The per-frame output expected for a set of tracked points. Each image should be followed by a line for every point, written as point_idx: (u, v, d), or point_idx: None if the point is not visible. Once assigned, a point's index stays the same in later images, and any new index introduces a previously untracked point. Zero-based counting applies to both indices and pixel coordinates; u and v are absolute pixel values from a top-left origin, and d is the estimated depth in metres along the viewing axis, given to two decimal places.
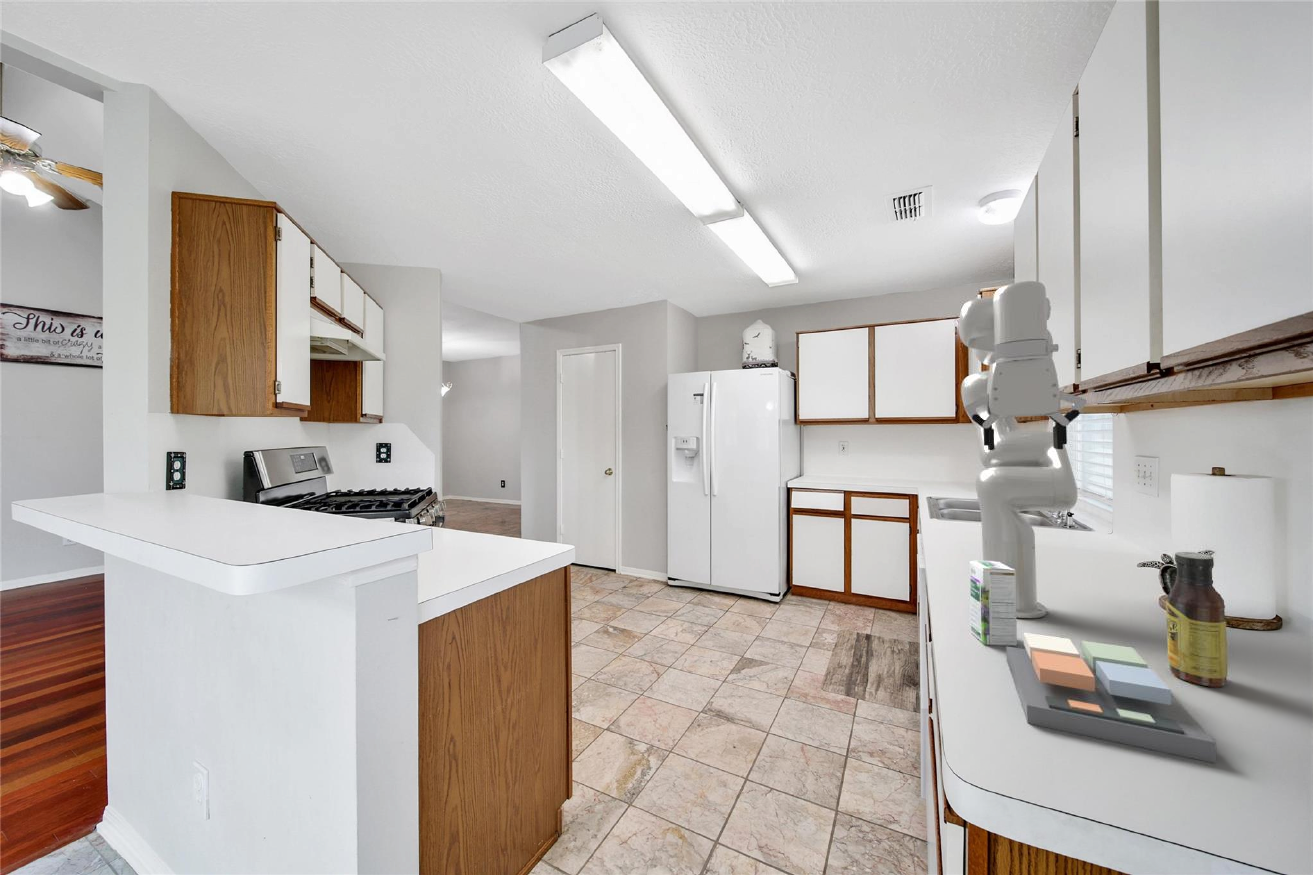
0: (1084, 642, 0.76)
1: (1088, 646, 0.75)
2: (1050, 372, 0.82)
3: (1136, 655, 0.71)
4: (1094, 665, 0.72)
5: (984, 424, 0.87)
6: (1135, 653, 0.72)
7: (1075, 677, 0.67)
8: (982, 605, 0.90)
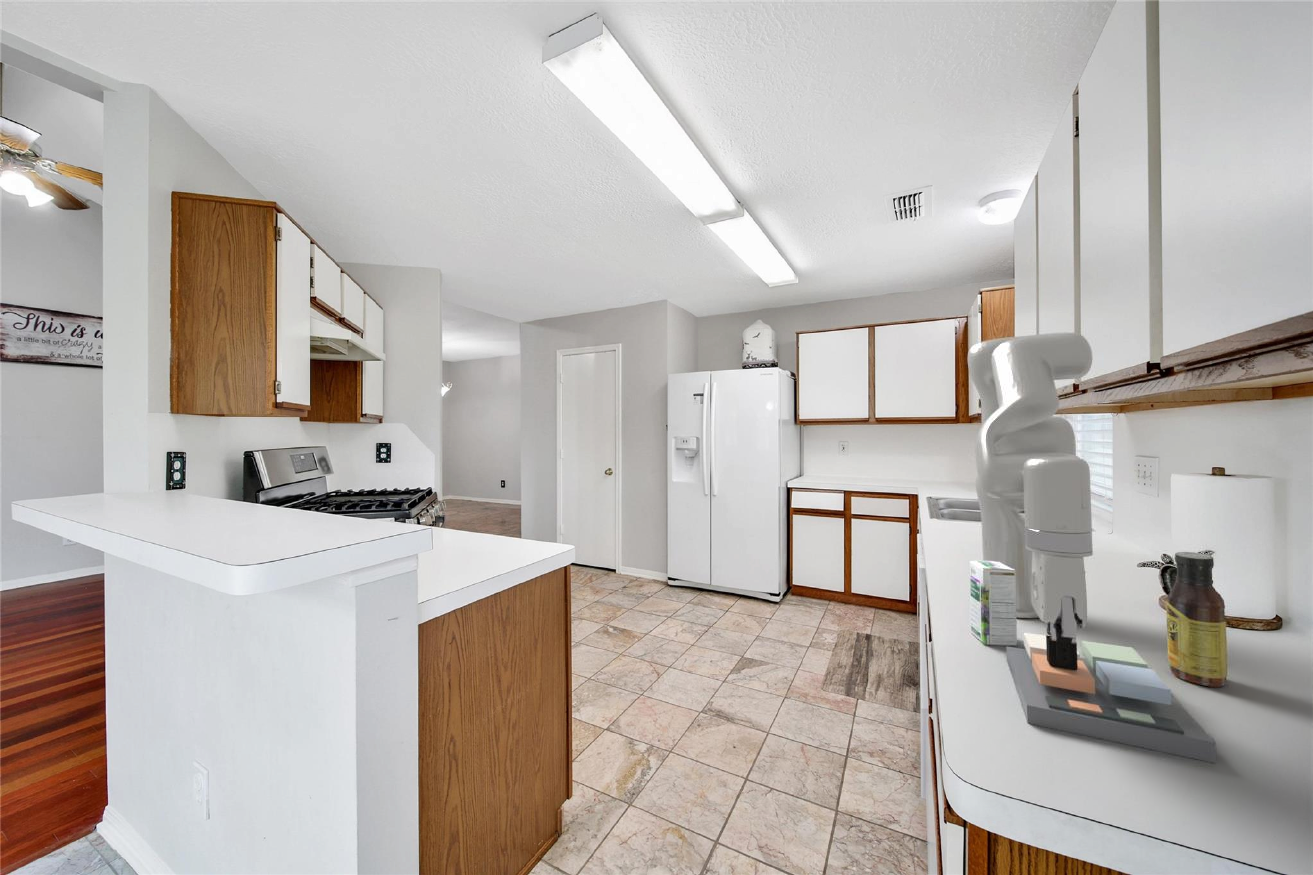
0: (1084, 642, 0.76)
1: (1088, 646, 0.75)
2: None
3: (1136, 655, 0.71)
4: (1094, 665, 0.72)
5: None
6: (1135, 653, 0.72)
7: (1075, 679, 0.67)
8: (982, 605, 0.90)
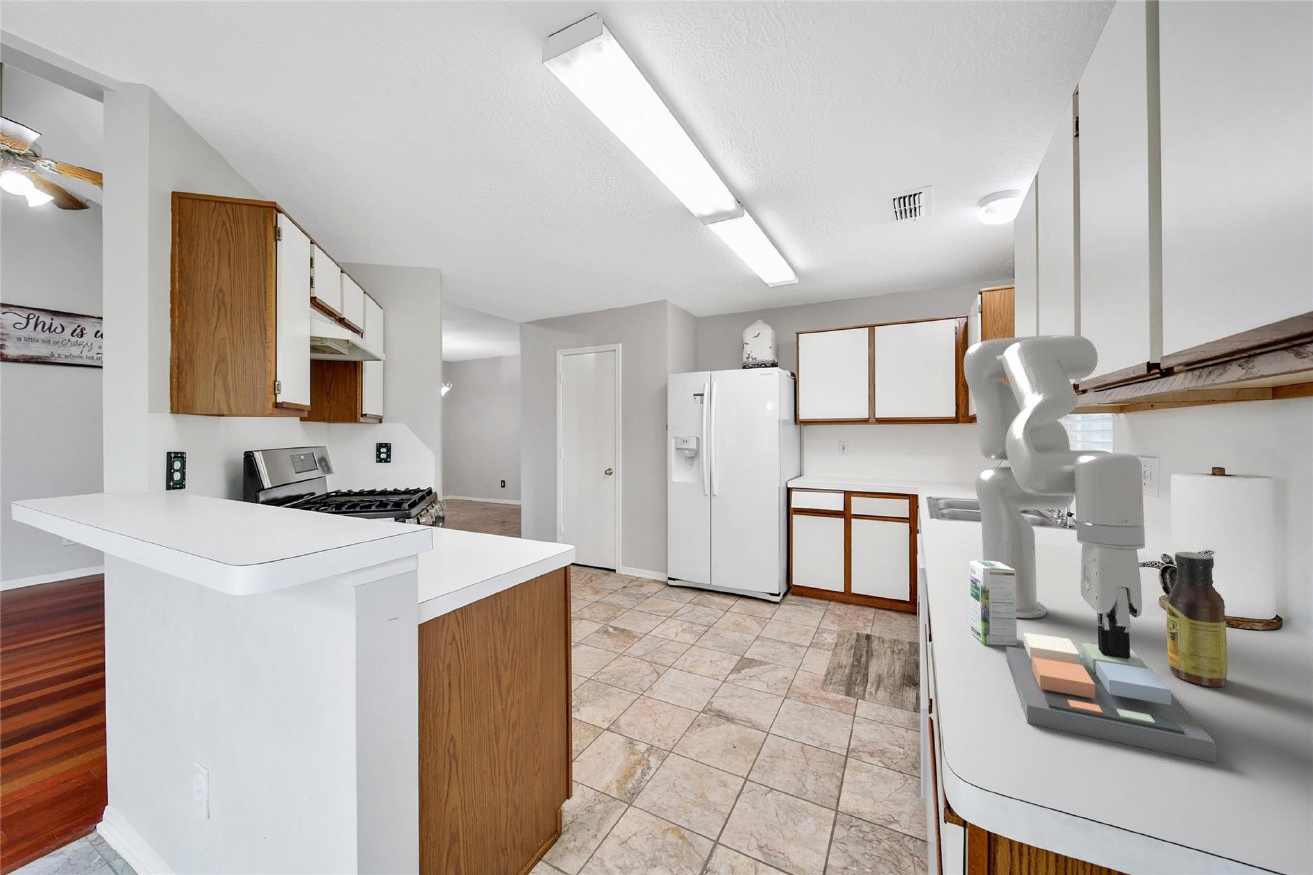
0: (1084, 644, 0.76)
1: (1089, 648, 0.75)
2: None
3: (1136, 657, 0.71)
4: (1094, 667, 0.72)
5: None
6: (1135, 655, 0.72)
7: (1075, 684, 0.67)
8: (982, 605, 0.90)
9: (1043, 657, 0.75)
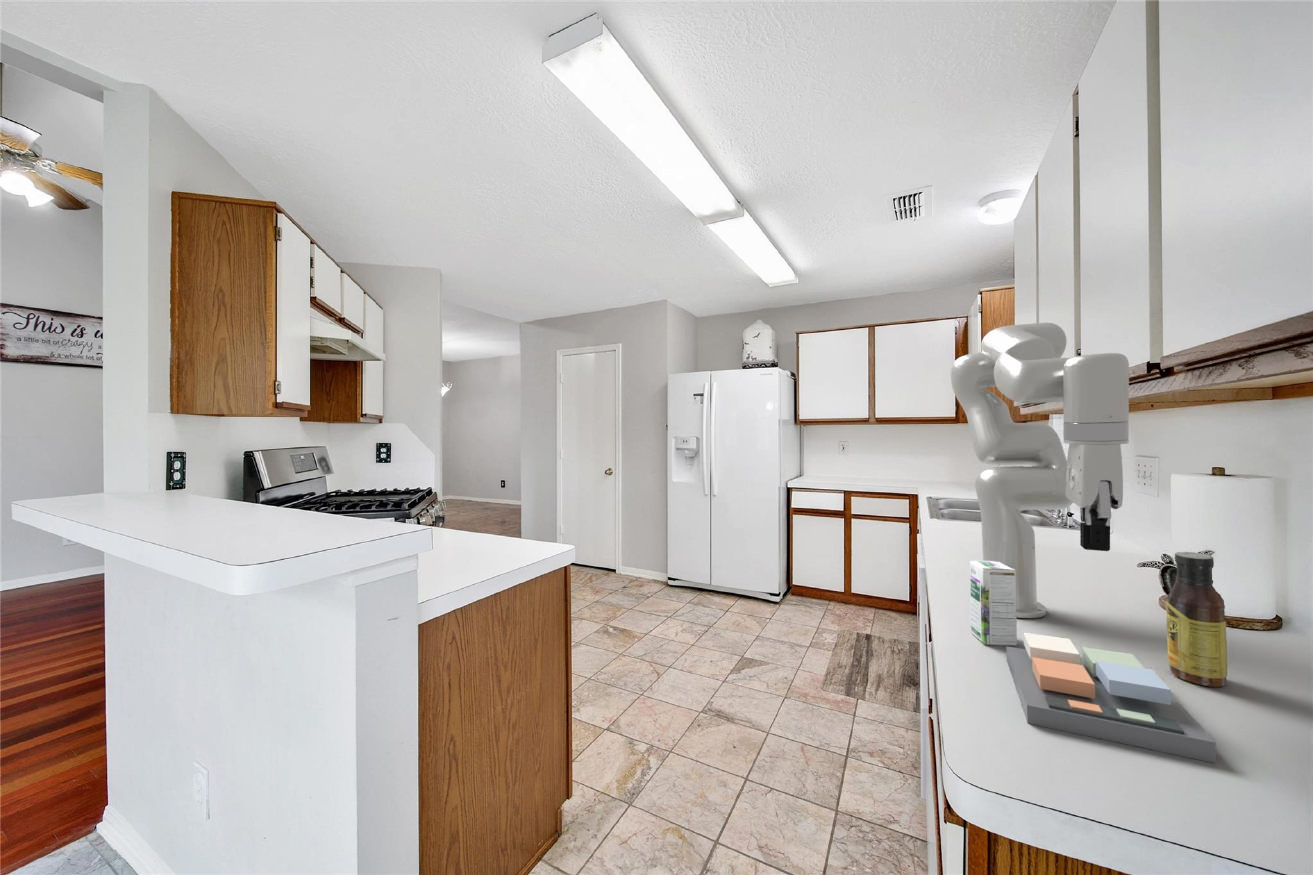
0: (1084, 648, 0.76)
1: (1089, 652, 0.75)
2: None
3: (1136, 662, 0.72)
4: (1094, 672, 0.72)
5: None
6: (1135, 660, 0.72)
7: (1075, 684, 0.67)
8: (982, 605, 0.90)
9: (1043, 657, 0.75)
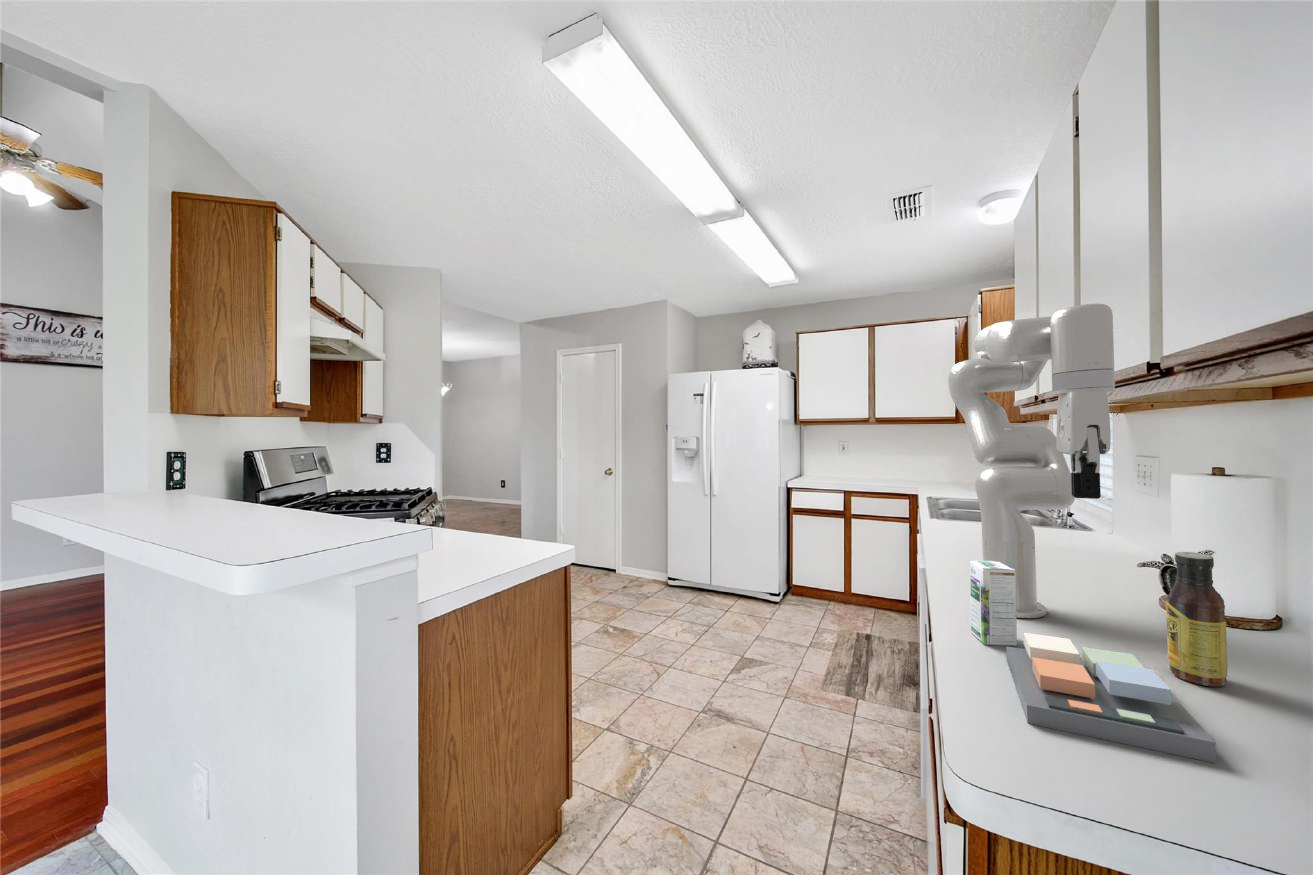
0: (1084, 648, 0.76)
1: (1089, 652, 0.75)
2: None
3: (1136, 662, 0.72)
4: (1094, 672, 0.72)
5: None
6: (1135, 660, 0.72)
7: (1075, 684, 0.67)
8: (982, 605, 0.90)
9: (1043, 657, 0.75)
